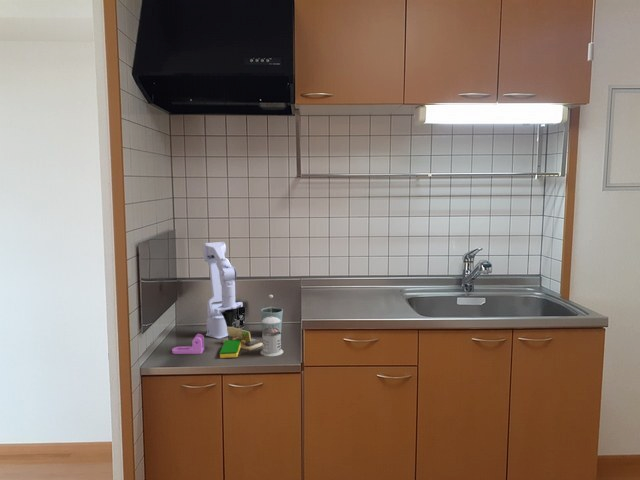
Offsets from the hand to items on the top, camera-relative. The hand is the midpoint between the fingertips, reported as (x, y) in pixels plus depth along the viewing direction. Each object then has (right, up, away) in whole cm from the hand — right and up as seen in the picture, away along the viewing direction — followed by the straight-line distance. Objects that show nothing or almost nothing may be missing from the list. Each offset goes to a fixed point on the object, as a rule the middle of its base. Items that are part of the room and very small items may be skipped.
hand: (229, 326), depth 212 cm
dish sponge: (+1, -10, -4) cm, 11 cm away
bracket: (-18, -11, -2) cm, 21 cm away
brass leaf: (+4, -5, +6) cm, 9 cm away
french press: (+18, -10, -3) cm, 21 cm away
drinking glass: (+17, -8, +20) cm, 27 cm away
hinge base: (+5, -9, +7) cm, 12 cm away
